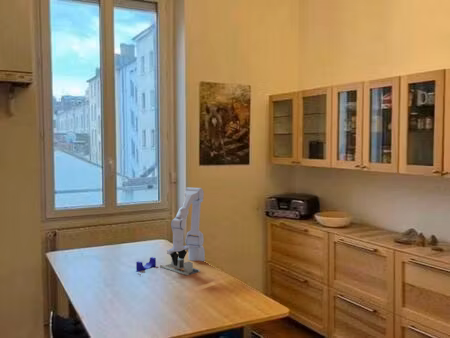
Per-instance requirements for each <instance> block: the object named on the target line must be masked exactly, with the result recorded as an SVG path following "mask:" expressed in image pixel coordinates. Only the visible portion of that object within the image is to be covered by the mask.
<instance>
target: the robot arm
mask: <svg viewBox="0 0 450 338" xmlns="http://www.w3.org/2000/svg"><path fill="white" fill-rule="evenodd" d="M204 194H205V192H204V190H203V188H202V187H187V186H186V187H185V189H184V200H183V204H182V207H179V209H178V211H177V213H176V215H175V217H174V218H173V219H172V220H171V223H170V227H171V232H172V248H169V249H167V250H166V254H168V255H170V257H171V261H172V260H173V264H174V265H175V266H177V263H178V258H182V259H184V260H185V257H186V255H187V254H188V255H187V257H188V261H190V262H191V261H192V262H193V261H194V262H196V261H198V262H205V261H206V258H205V256H206V255H205V247H204V244H205V243H204V242H205V239H204V233H203V232H202V231H201V230H200V222H201V221H200V220H201V219H200V218H201V207H202V203H203V202H204ZM191 205H192V207H191ZM190 207H191V218H190V219H191V220H190V221H191V222H190V230H189V231H187V232H186V235H185V234H184V231H185V230H184V229H185V227H186V223H187V217H188V215H189V213H190V212H189V209H190ZM184 235H185V236H184ZM184 238H185V240H184ZM184 243H185V245H184Z"/></svg>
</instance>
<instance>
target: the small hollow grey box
mask: <svg viewBox="0 0 450 338" xmlns="http://www.w3.org/2000/svg"><path fill="white" fill-rule="evenodd" d="M193 263H194V262H193V261H192V262H191V261H186V262H184V272H186V273H191V272H193V268H194V267H193Z"/></svg>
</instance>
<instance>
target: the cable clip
mask: <svg viewBox="0 0 450 338" xmlns="http://www.w3.org/2000/svg"><path fill="white" fill-rule="evenodd" d="M156 260H157V259H156V257H154V256H151V257H149V262H146V263H145V265H144V263H143V261H136V263H135V264H136V268H135V269H136V273H137V272H138V273H139V272H142V271H145V270H149V269H153V268H154V269H155V268H156V267H157V266H156V265H157V261H156Z"/></svg>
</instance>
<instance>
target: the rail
mask: <svg viewBox="0 0 450 338" xmlns="http://www.w3.org/2000/svg"><path fill="white" fill-rule="evenodd" d="M159 268H160V269H163V270H164V269H165V270H167V271H170V272H173V273H177V274H180V275H184V276H186V277H187V276H191V275H193V274H196V273H200V272H201V271H200V269H198V268H194V267H193V272H191V273H186V272H184V268H182V269H176V268H173V267H172V261H171V262H170V264H166V265H163V264H160V265H159Z"/></svg>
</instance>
